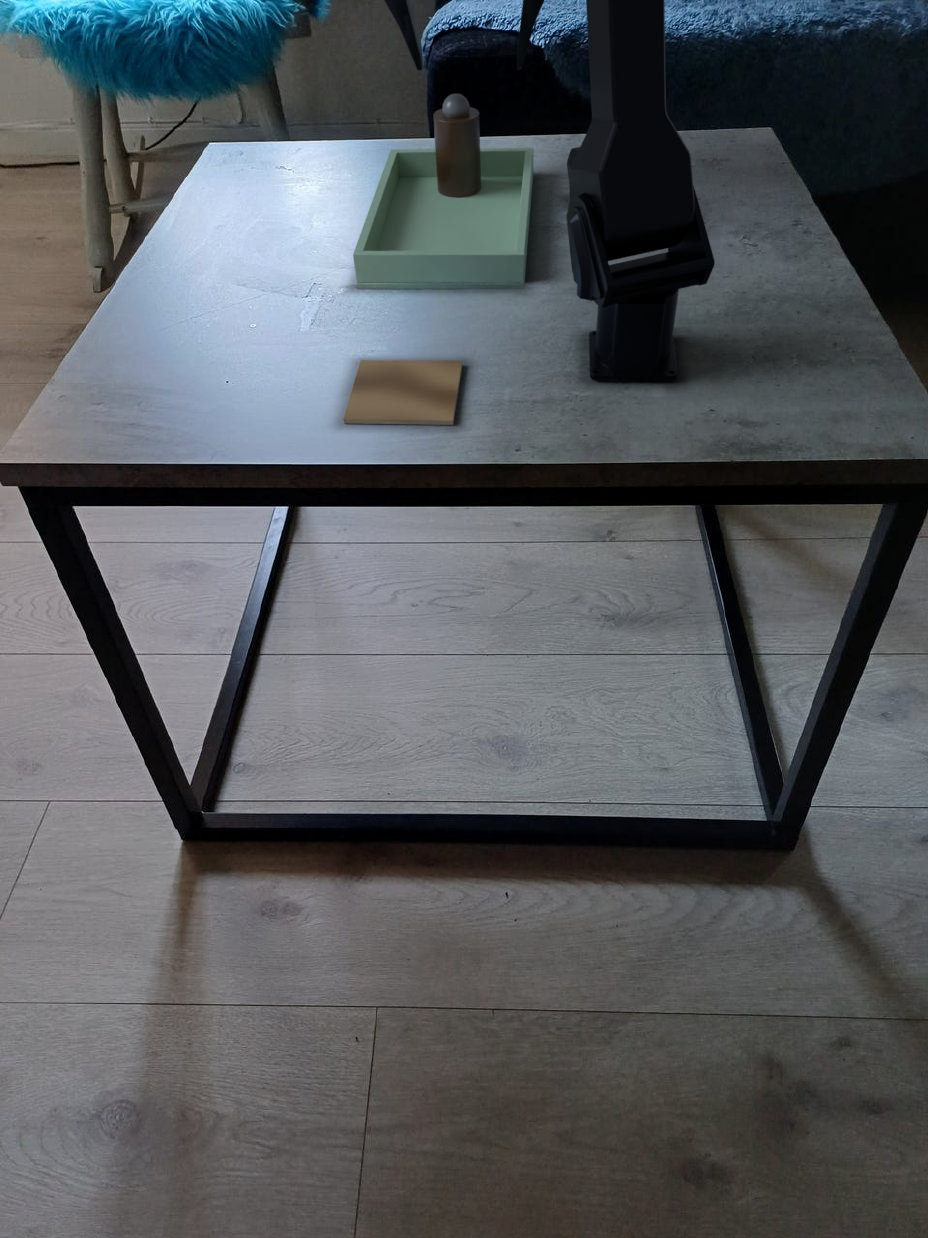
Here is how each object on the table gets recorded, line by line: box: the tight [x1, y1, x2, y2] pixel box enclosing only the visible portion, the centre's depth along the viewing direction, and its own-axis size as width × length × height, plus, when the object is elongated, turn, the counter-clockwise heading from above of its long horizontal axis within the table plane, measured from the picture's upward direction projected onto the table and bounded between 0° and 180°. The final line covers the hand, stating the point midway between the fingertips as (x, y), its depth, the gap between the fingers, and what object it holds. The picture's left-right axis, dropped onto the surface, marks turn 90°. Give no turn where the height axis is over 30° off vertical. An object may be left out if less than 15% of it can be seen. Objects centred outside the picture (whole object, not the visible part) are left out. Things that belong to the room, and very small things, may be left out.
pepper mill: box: [432, 93, 481, 198], centre depth 91 cm, size 4×4×9 cm
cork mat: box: [342, 359, 464, 426], centre depth 70 cm, size 8×8×1 cm
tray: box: [352, 147, 535, 290], centre depth 88 cm, size 24×15×3 cm, turn 175°
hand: (469, 68), depth 86 cm, fingers open, 9 cm apart
